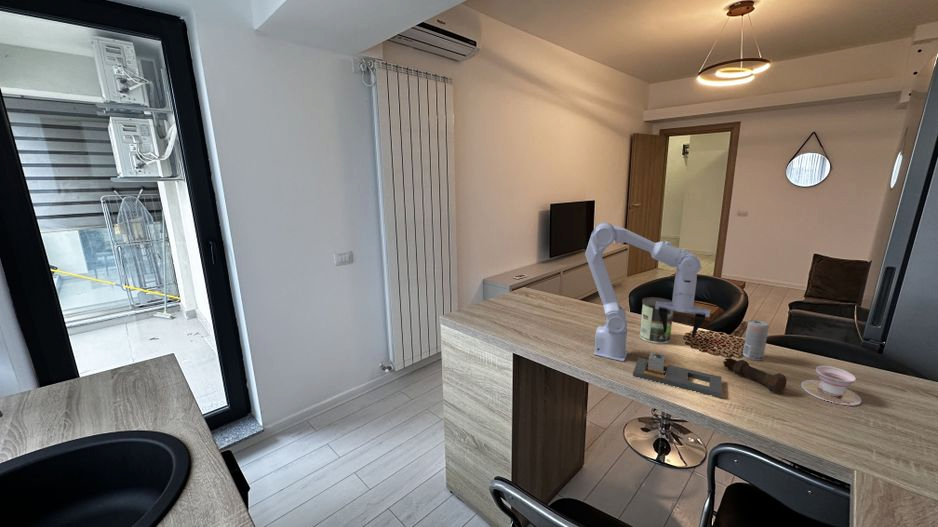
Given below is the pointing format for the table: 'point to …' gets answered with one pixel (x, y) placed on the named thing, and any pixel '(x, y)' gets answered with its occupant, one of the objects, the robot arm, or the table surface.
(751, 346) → the energy drink
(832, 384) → the teacup
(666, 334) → the coffee can
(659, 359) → the nut block
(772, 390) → the dark brown lumpy rod
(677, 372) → the rail
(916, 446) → the table surface
